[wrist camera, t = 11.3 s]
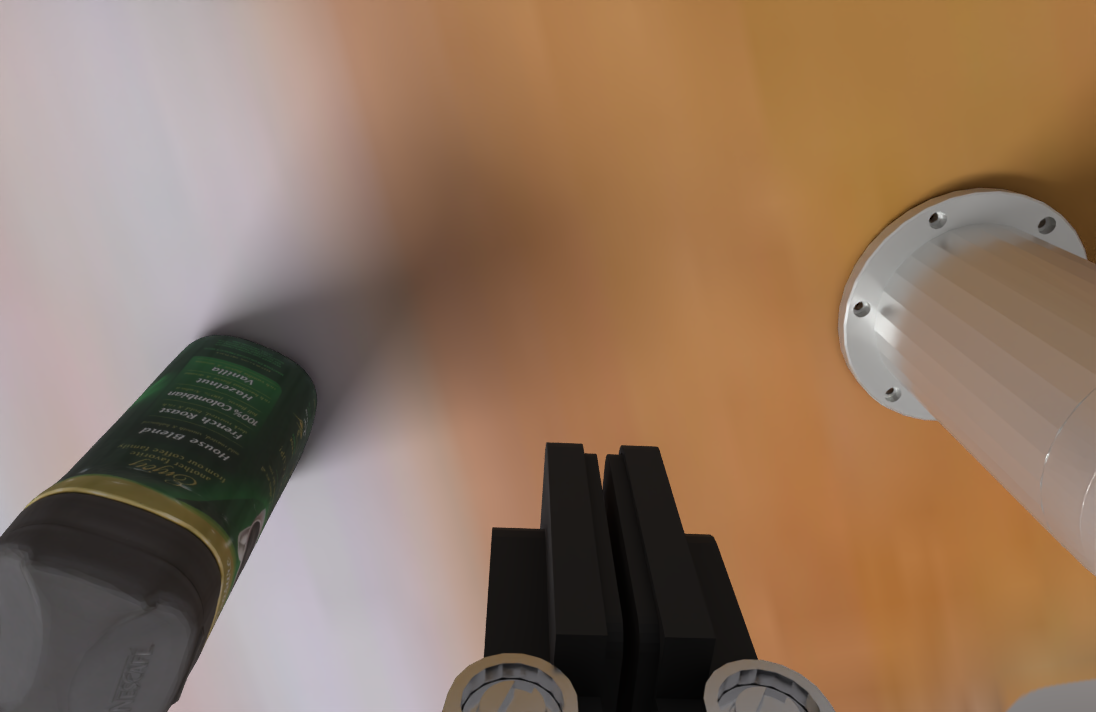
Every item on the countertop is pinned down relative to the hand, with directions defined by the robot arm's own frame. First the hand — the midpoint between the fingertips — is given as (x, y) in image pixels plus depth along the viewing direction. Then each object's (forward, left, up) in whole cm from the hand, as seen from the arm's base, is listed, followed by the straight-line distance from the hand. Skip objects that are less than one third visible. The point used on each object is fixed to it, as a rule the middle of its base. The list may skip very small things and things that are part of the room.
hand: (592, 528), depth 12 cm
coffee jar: (+16, +14, -29) cm, 36 cm away
